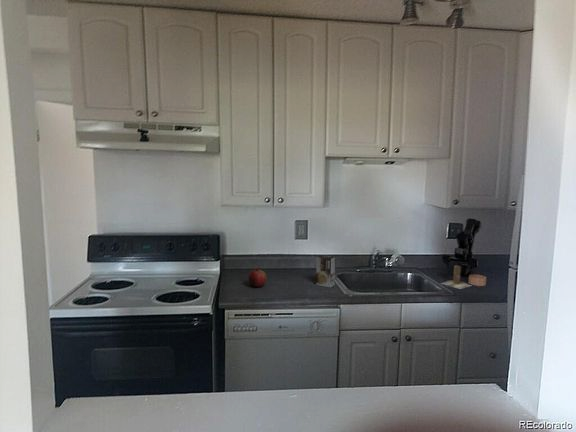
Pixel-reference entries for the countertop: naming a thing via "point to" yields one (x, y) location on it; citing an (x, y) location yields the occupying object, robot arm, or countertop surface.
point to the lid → (456, 279)
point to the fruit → (257, 277)
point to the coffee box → (325, 271)
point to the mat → (457, 287)
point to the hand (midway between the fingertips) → (456, 272)
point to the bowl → (477, 280)
